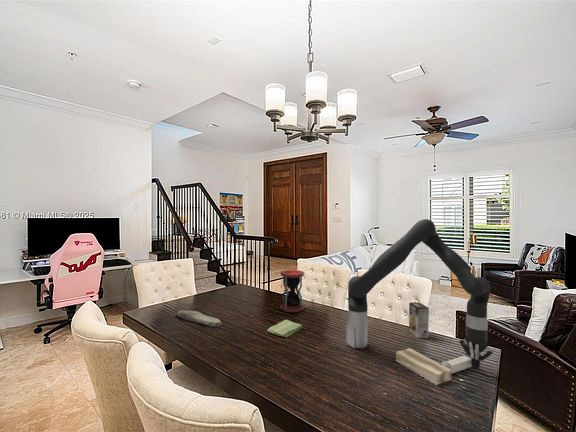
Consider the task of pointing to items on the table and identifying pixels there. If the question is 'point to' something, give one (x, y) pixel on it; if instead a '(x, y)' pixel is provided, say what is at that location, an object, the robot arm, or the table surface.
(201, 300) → the table surface
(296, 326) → the washcloth
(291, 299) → the hourglass
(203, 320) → the elongated rock
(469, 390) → the table surface
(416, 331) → the coffee box
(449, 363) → the folding leg
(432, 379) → the rail
